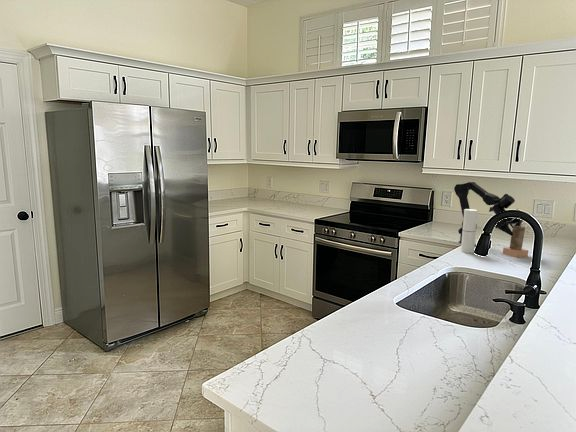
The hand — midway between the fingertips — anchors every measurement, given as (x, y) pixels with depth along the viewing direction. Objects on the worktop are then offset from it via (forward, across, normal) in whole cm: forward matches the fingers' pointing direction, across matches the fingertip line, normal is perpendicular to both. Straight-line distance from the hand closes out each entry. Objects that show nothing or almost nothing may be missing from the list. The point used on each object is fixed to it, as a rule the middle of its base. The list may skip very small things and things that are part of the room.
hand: (517, 234), depth 231 cm
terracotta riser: (+8, +1, +9) cm, 12 cm away
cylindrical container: (-4, -18, +22) cm, 28 cm away
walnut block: (+6, 0, +6) cm, 8 cm away
